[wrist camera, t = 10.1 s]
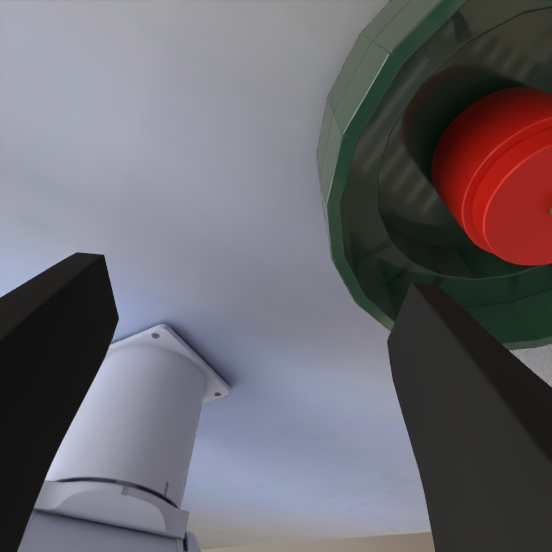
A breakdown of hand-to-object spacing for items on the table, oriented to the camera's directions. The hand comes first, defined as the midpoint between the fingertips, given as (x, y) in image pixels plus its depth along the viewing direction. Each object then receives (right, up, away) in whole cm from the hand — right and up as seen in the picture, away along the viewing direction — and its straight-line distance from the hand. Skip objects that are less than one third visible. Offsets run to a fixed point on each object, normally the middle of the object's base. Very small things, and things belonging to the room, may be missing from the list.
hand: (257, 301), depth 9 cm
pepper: (+10, +6, +7) cm, 13 cm away
